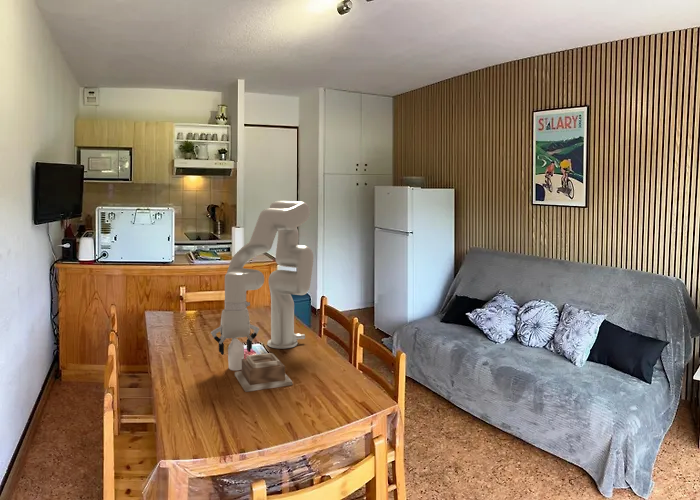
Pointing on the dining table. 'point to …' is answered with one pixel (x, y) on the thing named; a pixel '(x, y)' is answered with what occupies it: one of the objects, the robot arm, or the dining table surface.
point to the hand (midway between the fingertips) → (235, 352)
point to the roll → (235, 354)
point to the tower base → (262, 373)
